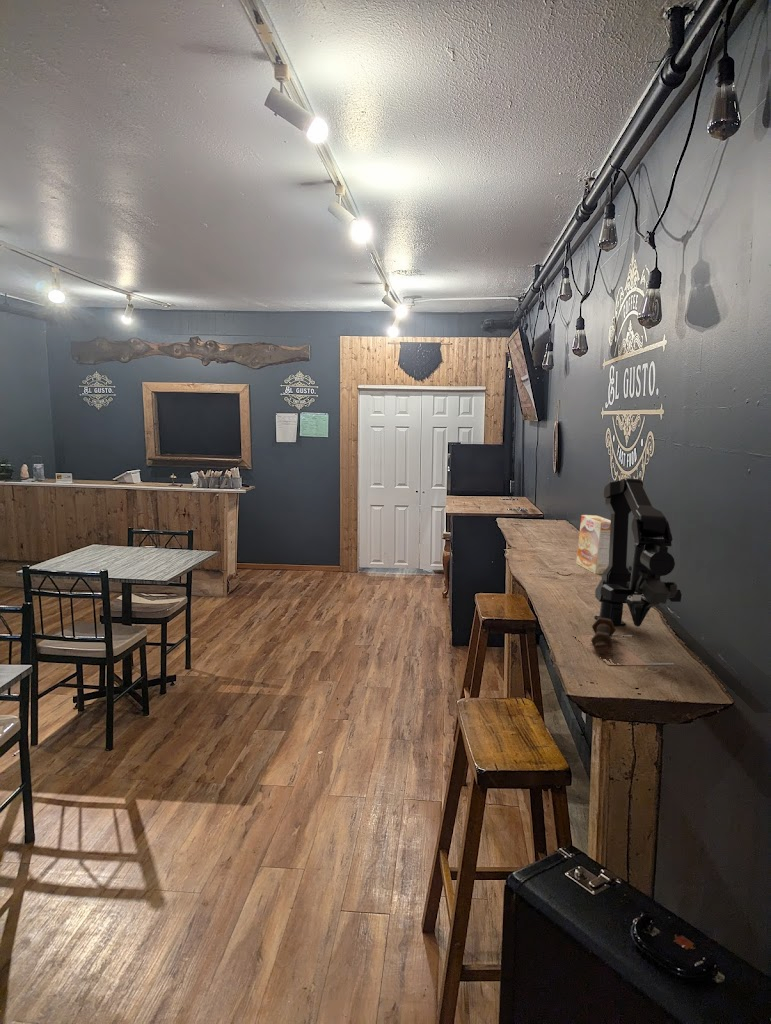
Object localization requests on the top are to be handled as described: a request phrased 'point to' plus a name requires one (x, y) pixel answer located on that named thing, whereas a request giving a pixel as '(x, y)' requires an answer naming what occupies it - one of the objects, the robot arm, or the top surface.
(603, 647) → the bolt
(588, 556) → the coffeecake box
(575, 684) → the top surface
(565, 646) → the top surface
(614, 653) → the seat and pad
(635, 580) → the robot arm
